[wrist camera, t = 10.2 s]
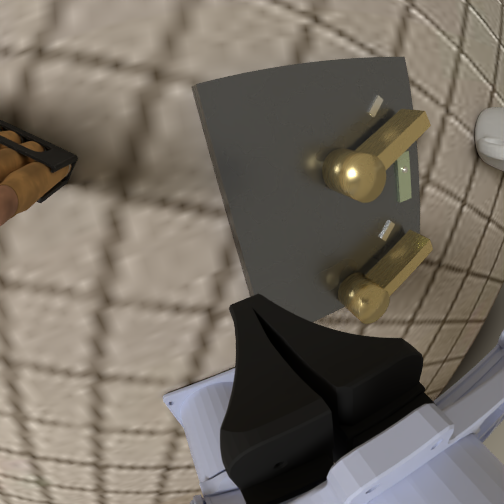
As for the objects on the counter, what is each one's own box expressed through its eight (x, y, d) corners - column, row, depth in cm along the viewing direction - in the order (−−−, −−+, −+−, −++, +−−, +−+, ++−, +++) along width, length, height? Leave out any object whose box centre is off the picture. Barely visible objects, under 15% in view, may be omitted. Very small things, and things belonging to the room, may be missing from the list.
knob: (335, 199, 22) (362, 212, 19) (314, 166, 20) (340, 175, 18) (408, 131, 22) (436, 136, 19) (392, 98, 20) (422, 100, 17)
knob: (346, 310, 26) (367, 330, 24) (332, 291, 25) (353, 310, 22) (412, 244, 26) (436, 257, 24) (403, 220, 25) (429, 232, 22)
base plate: (408, 260, 29) (422, 269, 28) (260, 331, 26) (270, 346, 24) (391, 57, 20) (409, 56, 19) (191, 87, 17) (198, 83, 15)
